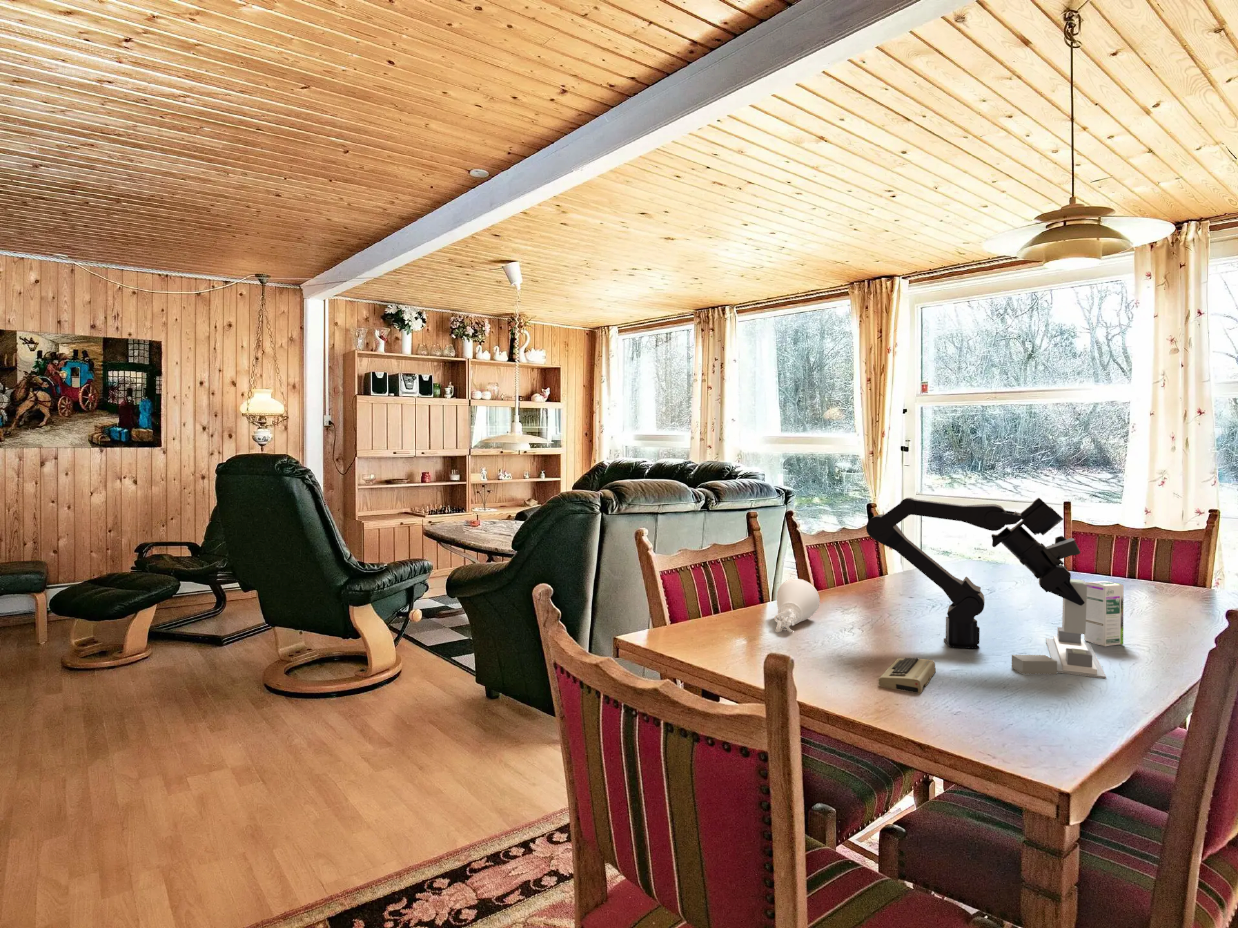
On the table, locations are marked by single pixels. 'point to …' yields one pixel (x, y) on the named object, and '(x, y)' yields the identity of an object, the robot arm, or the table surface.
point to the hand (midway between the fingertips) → (1081, 601)
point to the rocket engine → (795, 603)
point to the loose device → (1034, 664)
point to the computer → (908, 674)
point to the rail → (1059, 655)
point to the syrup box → (1104, 613)
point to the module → (1075, 610)
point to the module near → (1078, 657)
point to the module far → (1068, 636)
